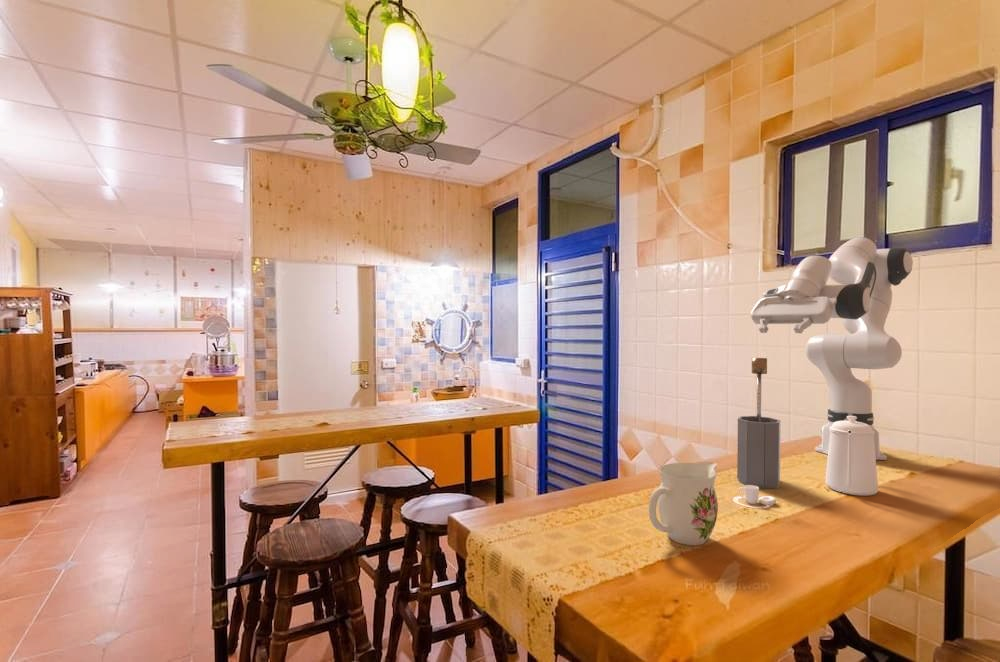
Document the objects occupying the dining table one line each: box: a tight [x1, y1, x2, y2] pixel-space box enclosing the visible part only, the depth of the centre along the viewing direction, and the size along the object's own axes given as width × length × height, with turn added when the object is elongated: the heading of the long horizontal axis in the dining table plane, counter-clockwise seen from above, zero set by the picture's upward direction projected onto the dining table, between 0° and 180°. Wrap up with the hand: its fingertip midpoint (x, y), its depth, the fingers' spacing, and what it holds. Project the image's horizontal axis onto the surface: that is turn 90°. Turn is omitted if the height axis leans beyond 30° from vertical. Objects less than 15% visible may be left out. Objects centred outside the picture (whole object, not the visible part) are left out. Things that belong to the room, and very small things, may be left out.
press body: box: [736, 415, 782, 490], centre depth 131 cm, size 13×10×17 cm
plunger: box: [751, 357, 768, 422], centre depth 130 cm, size 7×7×24 cm
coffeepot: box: [824, 416, 879, 497], centre depth 124 cm, size 11×25×19 cm, turn 143°
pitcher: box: [648, 461, 719, 546], centre depth 96 cm, size 11×18×14 cm, turn 119°
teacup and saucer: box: [732, 485, 777, 510], centre depth 115 cm, size 9×8×4 cm
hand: (779, 331), depth 135 cm, fingers open, 8 cm apart
